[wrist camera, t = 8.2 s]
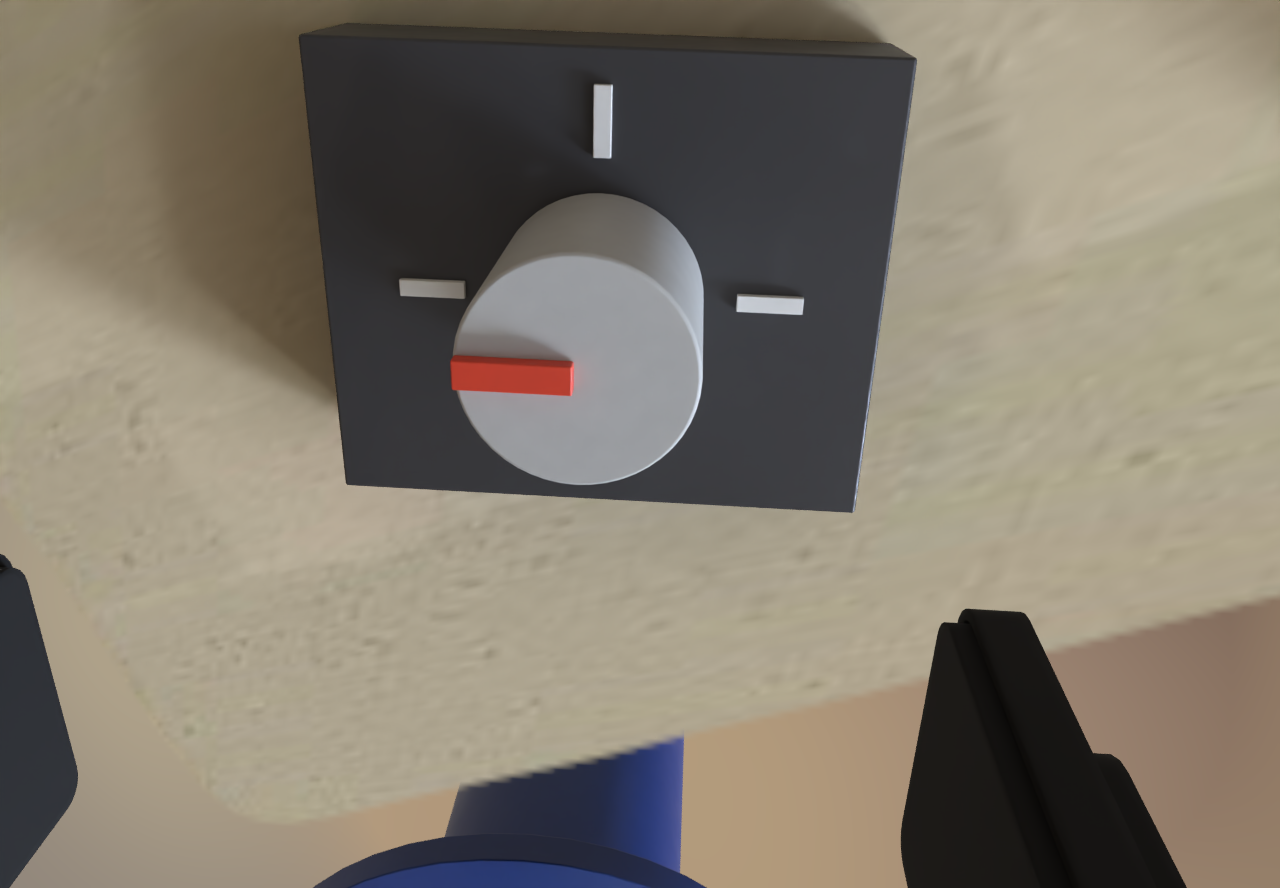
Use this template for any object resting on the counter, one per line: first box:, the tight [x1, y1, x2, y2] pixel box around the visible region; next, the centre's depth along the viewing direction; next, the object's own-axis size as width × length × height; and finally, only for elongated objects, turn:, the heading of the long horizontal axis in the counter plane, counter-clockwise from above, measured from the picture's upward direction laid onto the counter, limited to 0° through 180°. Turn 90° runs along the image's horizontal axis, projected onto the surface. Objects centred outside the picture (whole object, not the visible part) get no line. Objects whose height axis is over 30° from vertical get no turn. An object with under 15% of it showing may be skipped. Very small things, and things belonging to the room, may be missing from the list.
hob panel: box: [299, 23, 917, 513], centre depth 24 cm, size 10×12×3 cm
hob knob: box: [450, 193, 704, 485], centre depth 20 cm, size 4×4×5 cm
